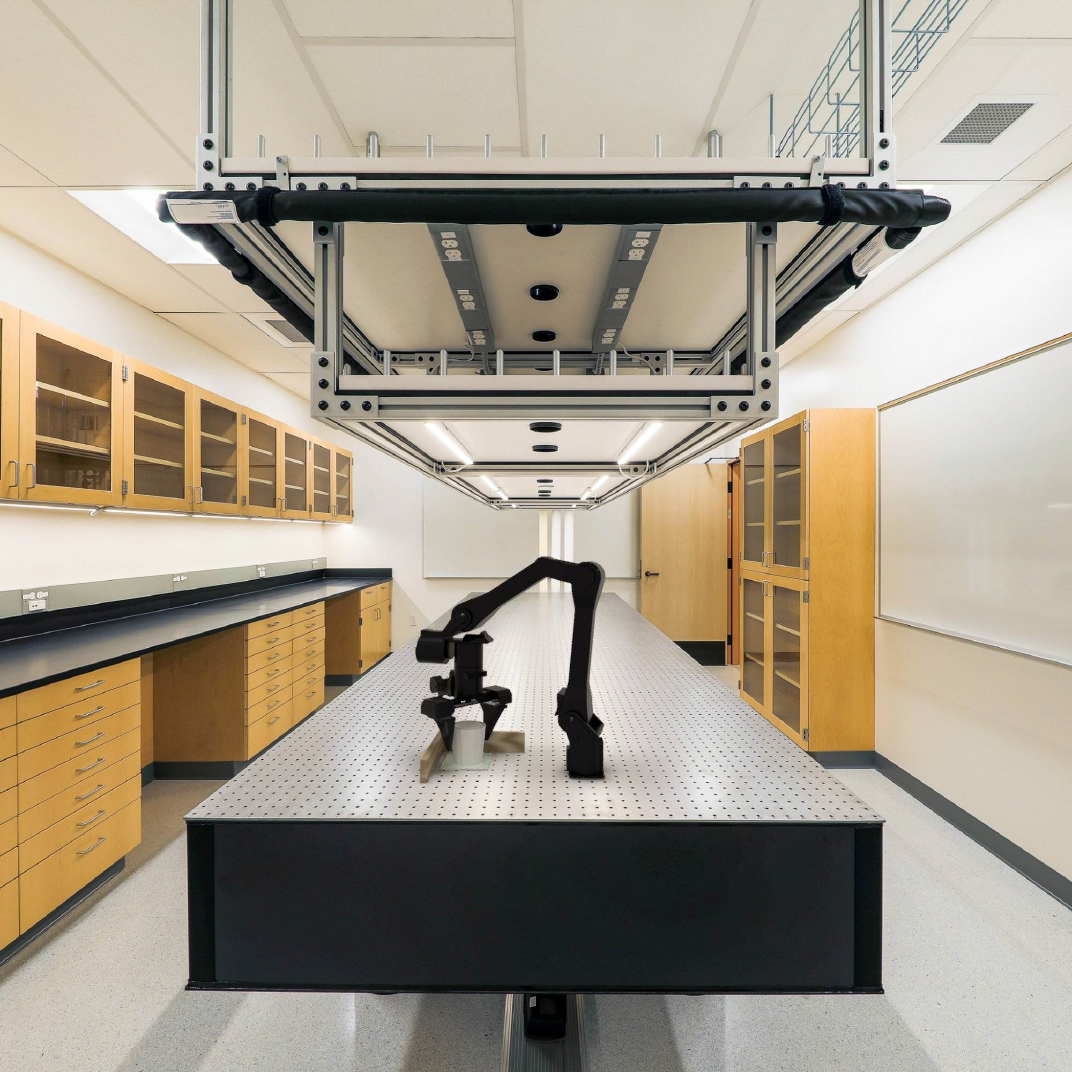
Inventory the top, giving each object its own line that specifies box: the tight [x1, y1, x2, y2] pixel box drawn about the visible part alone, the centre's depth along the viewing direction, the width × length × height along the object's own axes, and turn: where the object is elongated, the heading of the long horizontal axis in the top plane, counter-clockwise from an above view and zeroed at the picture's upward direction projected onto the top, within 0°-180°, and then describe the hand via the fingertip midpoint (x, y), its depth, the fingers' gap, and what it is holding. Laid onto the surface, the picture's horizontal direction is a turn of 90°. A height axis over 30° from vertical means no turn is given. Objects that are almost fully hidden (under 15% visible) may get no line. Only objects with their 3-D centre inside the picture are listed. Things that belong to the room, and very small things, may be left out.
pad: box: [440, 752, 494, 772], centre depth 117 cm, size 9×9×1 cm
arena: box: [419, 729, 526, 784], centre depth 115 cm, size 18×18×4 cm
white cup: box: [452, 719, 486, 765], centre depth 117 cm, size 7×7×7 cm
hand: (467, 745), depth 117 cm, fingers open, 9 cm apart
